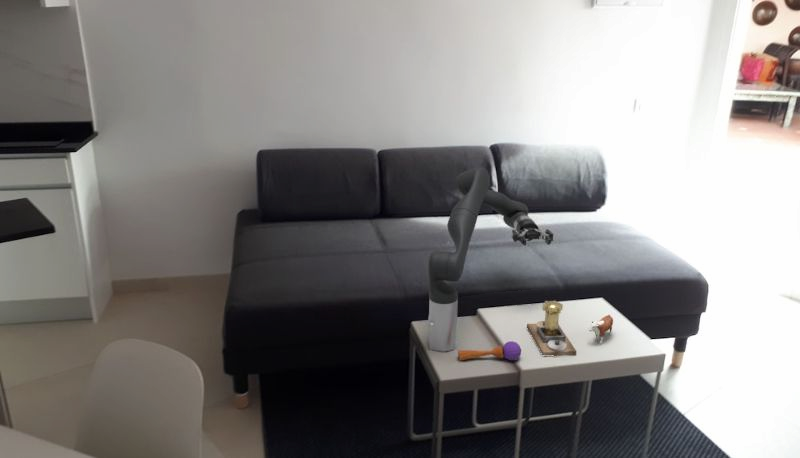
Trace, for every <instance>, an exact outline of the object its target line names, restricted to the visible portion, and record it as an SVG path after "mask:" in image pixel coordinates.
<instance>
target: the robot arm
mask: <svg viewBox="0 0 800 458" xmlns="http://www.w3.org/2000/svg"><path fill="white" fill-rule="evenodd" d="M489 173H490V172H489V171H488V170H487V169H486V168H484V167H474V168H472V169H469V170H466V171H464V172H461V173H459V174H458V175H457V177H456V187H457V189H458V191H459V192H460V194H462V196H463V197H462V198H461V199H460V200H459V201H458V202H457V203H455V205H454V207H453V208H452V210H451V212H450V215H449V218H448V221H447V227H446V228H447V231H448V233H449V236H450V238H451V239H452V242H453V244H454V247H455V252H451V251H442V250H433V251H432V252H431V253H430V255H429V258H428V268H427V269H428V292H429V297H428V298H429V299H428V300H429V304H428V305H429V307H428V308H429V311H428V312H429V313H428V317H427V318H428V320H427V321H428V322H427V323H428V324H427V343H428V347H429V350H433V351H437V352H450V351H452V350H454V349H456V347H457V340H458V339H457V330H458V329H457V328H458V293H459V292H458V290H457V288H455V287H454V286H452V285H450V284H448V283H447V282H458V281H459V280H460V279H461V278H462V275H463V271H464V268H465V263H466V258H467V253H468V249H469V245H470V242H471V239H472V235H473V233H474V231H475V230H474V229H475V228H476V224H477V220H478V216H479V213H480V210H481V207H482V204H483V205H485V206H487V207H489V208H490V209H491V210H494V211H495V212H496V213H498V214H499V215H500V216H503V218H502V219H503V223H504V224H506V226H509V227H510V228H511V239H512V241H513V242H514V243H515V242H518V243H521V245H523V246H526V245H527V242H531V241H538V242H545V243H546V245H548V246H549V245H551V244H552V242H553V241H554V233H553V232H552V231H551V230H549V229H545V231H542V229H539V226H538V224H536V222H535V221H534V220H533V218H531V217H530V216H529V208H528V206H527V205H526V204H524V203H522V202H521V201H517V200H513V199H510V197H508V196H506V195H505V194H504V193H502V192H499V191H495V190H492V189H490V185H491V177H490V174H489ZM512 229H513V230H512Z"/></svg>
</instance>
